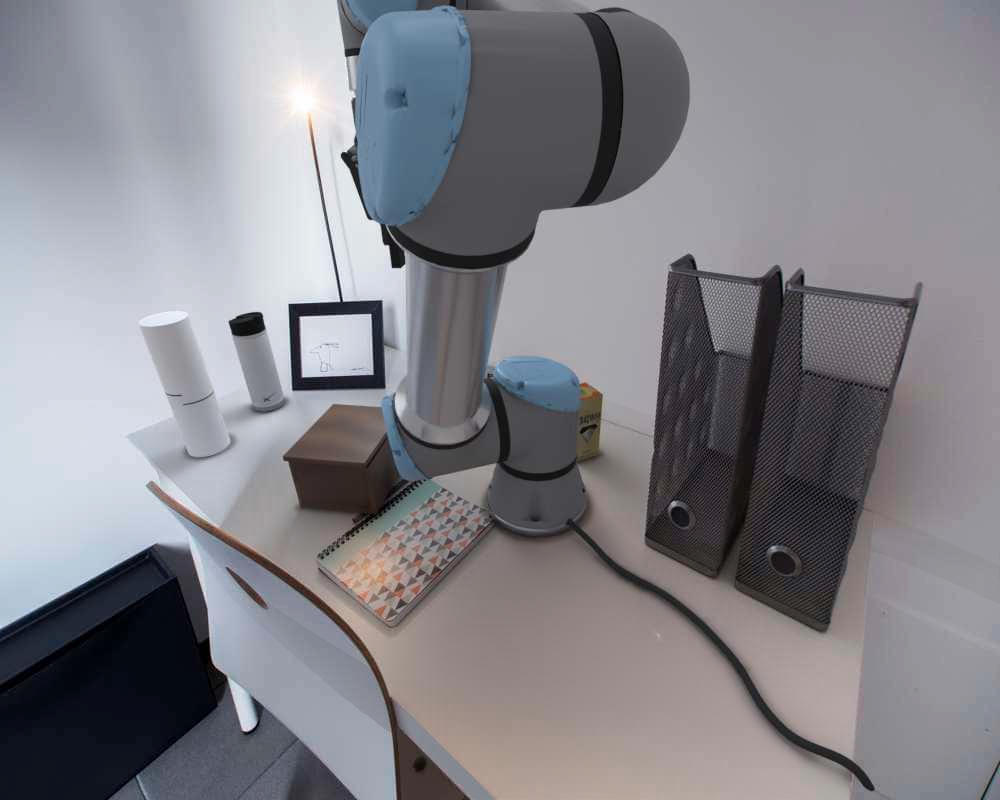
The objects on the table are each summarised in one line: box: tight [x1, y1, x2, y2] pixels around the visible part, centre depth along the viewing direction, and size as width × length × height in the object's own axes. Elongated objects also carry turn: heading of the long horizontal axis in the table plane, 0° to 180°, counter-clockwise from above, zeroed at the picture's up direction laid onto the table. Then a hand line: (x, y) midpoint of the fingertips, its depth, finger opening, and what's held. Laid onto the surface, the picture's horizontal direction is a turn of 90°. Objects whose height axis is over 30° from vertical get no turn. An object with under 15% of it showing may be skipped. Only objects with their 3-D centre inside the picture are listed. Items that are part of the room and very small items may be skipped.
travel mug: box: [228, 311, 286, 413], centre depth 106 cm, size 6×7×20 cm
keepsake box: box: [287, 436, 400, 516], centre depth 86 cm, size 16×13×9 cm
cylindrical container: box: [138, 310, 231, 458], centre depth 92 cm, size 7×7×25 cm
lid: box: [282, 403, 388, 468], centre depth 83 cm, size 16×13×1 cm
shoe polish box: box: [577, 382, 604, 463], centre depth 90 cm, size 5×5×12 cm
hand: (398, 265), depth 84 cm, fingers closed
